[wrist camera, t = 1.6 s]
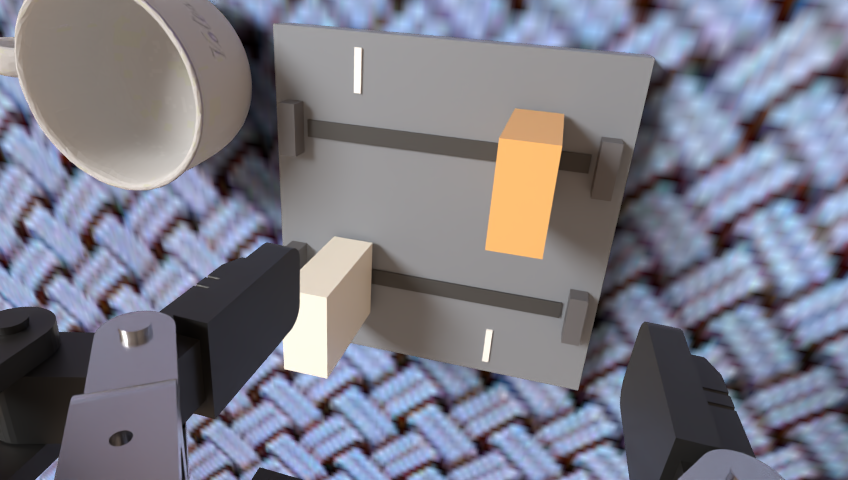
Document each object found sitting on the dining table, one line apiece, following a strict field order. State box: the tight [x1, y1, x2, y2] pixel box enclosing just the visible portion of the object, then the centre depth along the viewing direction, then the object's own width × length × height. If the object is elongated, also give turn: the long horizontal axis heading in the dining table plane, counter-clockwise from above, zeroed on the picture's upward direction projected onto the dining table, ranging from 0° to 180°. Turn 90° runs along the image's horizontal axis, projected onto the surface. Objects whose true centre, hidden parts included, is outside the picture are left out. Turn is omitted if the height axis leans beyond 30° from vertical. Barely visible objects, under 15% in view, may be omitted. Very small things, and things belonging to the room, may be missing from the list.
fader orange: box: [485, 108, 564, 259], centre depth 26 cm, size 2×5×7 cm, turn 175°
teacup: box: [0, 0, 252, 190], centre depth 31 cm, size 14×11×8 cm
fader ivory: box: [283, 236, 372, 378], centre depth 31 cm, size 2×5×7 cm, turn 175°
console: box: [273, 23, 655, 390], centre depth 32 cm, size 20×20×3 cm
